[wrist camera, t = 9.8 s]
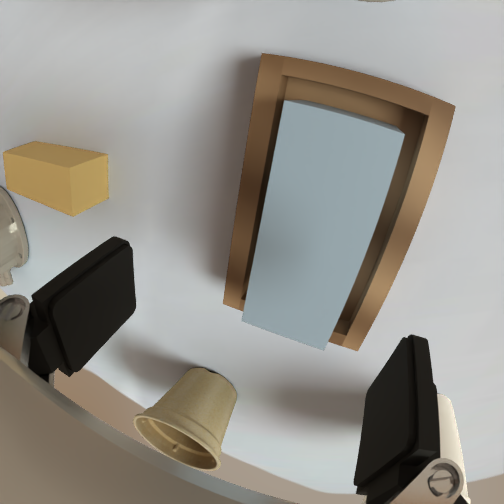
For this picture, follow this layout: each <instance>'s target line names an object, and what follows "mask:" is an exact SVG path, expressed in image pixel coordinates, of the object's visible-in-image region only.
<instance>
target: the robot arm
mask: <svg viewBox="0 0 504 504" xmlns="http://www.w3.org/2000/svg"><path fill="white" fill-rule="evenodd" d="M27 259H28V242H27V237H26V233H25V230H24V226H23V223H22V220H21V218H20V215H19V213H18V210H17V208H16V206H15V204H14V202H13V201H12V199H11V198H10V196H9V195H8V193H7V192H6V191H5V190H4V189H3V188H1V187H0V286H6V285H12V284H13V278H12V275H11V273H10V270H11V268H12V267H18V268H19V267H21V266H23V265H24V264H25V263H26V262H27ZM31 296H32V300H33V302H31V303H29V301H28V299H27V298H26V297H25V296H22V295H16V294H14V295H9V296H7V297H4V298H3V299H1V300H0V504H298V503H294V502H291V501H287V500H283V499H279V498H276V497H272V496H269V495H265V494H262V493H259V492H256V491H252V490H250V489H246V488H244V487H241V486H238V485H235V484H232V483H229V482H226V481H224V480H221V479H219V478H216V477H213V476H211V475H208V474H206V473H204V472H201V471H199V470H196V469H194V468H192V467H189V466H187V465H185V464H183V463H180V462H178V461H176V460H174V459H172V458H170V457H168V456H165V455H163V454H161V453H159V452H157V451H155V450H153V449H151V448H149V447H148V446H146V445H144V444H142V443H140V442H138V441H136V440H134V439H133V438H131V437H129V436H127V435H125V434H124V433H122V432H120V431H118V430H117V429H115V428H113V427H112V426H110V425H109V424H107V423H105V422H104V421H102V420H100V419H99V418H97V417H95V416H94V415H92V414H91V413H89V412H88V411H86V410H85V409H83V408H82V407H80V406H79V405H77V404H76V403H75V402H73V401H71V400H70V399H69V398H67V397H66V396H65V395H63V394H62V393H60V392H59V391H58V390H56V389H55V388H54V371H55V370H56V369H57V368H59V370H60V371H61V372H63V373H64V374H66V375H67V376H68V377H70V376H71V375H72V374H73V373H74V372H78V371H79V370H81V369H82V367H83V366H84V365H85V364H86V363H87V362H88V361H89V360H90V359H91V358H92V357H93V356H94V354H95V353H96V352H97V351H98V350H99V349H100V348H101V347H102V346H103V345H104V344H105V343H106V342H107V341H108V340H109V338H110V337H111V336H112V335H113V334H114V333H115V332H116V331H117V330H118V329H119V328H120V327H121V326H122V325H123V324H124V323H125V322H126V321H127V320H128V319H129V317H130V316H131V315H132V314H133V313H134V311H135V309H136V297H135V284H134V268H133V250H132V247H130V244H129V242H128V241H126V240H124V239H121V238H118V237H114V236H113V237H111V238H110V239H108V240H107V241H105V242H104V243H102V244H101V245H99V246H98V247H97V248H95V249H94V250H92V251H91V252H89V253H88V254H86V255H85V256H84V257H82V258H81V259H79V260H78V261H77V262H75V263H74V264H72V265H71V266H70V267H68V268H67V269H66V270H64V271H63V272H61V273H60V274H59V275H57V276H56V277H55V278H53V279H52V280H51V281H49V282H48V283H47V284H45V285H44V286H43V287H42V288H40V289H39V290H38V291H36V292H35V293H34V294H33V295H31ZM354 485H355V486H357V491H356V494H359V495H366V496H367V498H366V504H468V503H467V501H466V500H465V499H464V498H463V497H462V495H461V494H460V493H461V492H462V490H463V485H464V477H463V473H462V471H461V469H460V467H459V466H458V465H457V464H456V463H455V462H454V461H452V460H450V459H447V458H440V425H439V410H438V397H437V389H436V385H435V384H434V383H433V376H432V367H431V359H430V352H429V345H428V340H427V339H426V338H422V337H419V336H415V335H409V336H408V338H405V337H403V338H402V340H401V341H400V343H399V344H398V346H397V347H396V349H395V351H394V352H393V354H392V355H391V357H390V358H389V360H388V361H387V363H386V364H385V366H384V367H383V369H382V370H381V372H380V373H379V375H378V376H377V378H376V379H375V380H374V382H373V383H372V385H371V386H370V387H369V389H368V391H367V394H366V400H365V409H364V417H363V425H362V433H361V440H360V447H359V453H358V459H357V465H356V471H355V476H354Z"/></svg>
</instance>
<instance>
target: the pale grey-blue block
mask: <svg viewBox="0 0 504 504" xmlns="http://www.w3.org/2000/svg"><path fill="white" fill-rule="evenodd" d="M404 136H405V134H404V133H403V132H402V131H401V130H400V129H399V128H397V127H396V126H395V125H392V124H389V123H386V122H383V121H380V120H376V119H373V118H370V117H367V116H364V115H360V114H357V113H353V112H350V111H346V110H343V109H339V108H335V107H332V106H328V105H324V104H320V103H316V102H312V101H307V100H284V104H283V110H282V115H281V120H280V125H279V130H278V136H277V141H276V146H275V151H274V156H273V162H272V167H271V172H270V177H269V182H268V188H267V193H266V198H265V203H264V208H263V213H262V218H261V224H260V229H259V234H258V239H257V244H256V249H255V254H254V260H253V265H252V270H251V275H250V280H249V285H248V290H247V295H246V300H245V306H244V311H243V316H242V321H243V322H246V323H248V324H251V325H254V326H256V327H259V328H262V329H264V330H267V331H270V332H272V333H275V334H278V335H281V336H283V337H286V338H289V339H292V340H295V341H298V342H300V343H303V344H306V345H309V346H312V347H315V348H318V349H321V350H324V349H325V347H326V345H327V343H328V341H329V339H330V337H331V334H332V332H333V330H334V328H335V326H336V324H337V321H338V319H339V317H340V315H341V312H342V310H343V308H344V306H345V303H346V301H347V299H348V296H349V294H350V292H351V289H352V287H353V284H354V282H355V279H356V277H357V275H358V272H359V270H360V267H361V265H362V262H363V259H364V257H365V254H366V252H367V249H368V246H369V244H370V241H371V238H372V236H373V233H374V230H375V228H376V225H377V222H378V219H379V216H380V213H381V211H382V208H383V205H384V202H385V199H386V196H387V193H388V190H389V186H390V183H391V180H392V177H393V174H394V171H395V167H396V164H397V161H398V157H399V154H400V150H401V147H402V143H403V140H404Z"/></svg>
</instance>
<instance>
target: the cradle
mask: <svg viewBox="0 0 504 504" xmlns="http://www.w3.org/2000/svg"><path fill="white" fill-rule="evenodd" d="M284 100H307V101H312V102H316V103H320V104H324V105H328V106H332V107H335V108H339V109H343V110H346V111H350V112H353V113H357V114H360V115H364V116H367V117H370V118H373V119H376V120H380V121H383V122H386V123H389V124H392V125H395V126H396V127H397V128H399V129H400V130H401V131H402V132H403V133H404V134H405V136H404V140H403V143H402V147H401V150H400V154H399V157H398V161H397V164H396V167H395V171H394V174H393V177H392V180H391V183H390V186H389V190H388V193H387V196H386V199H385V202H384V205H383V208H382V211H381V213H380V216H379V219H378V222H377V225H376V228H375V230H374V233H373V236H372V238H371V241H370V244H369V246H368V249H367V252H366V254H365V257H364V259H363V262H362V265H361V267H360V270H359V272H358V275H357V277H356V279H355V282H354V284H353V287H352V289H351V292H350V294H349V296H348V299H347V301H346V303H345V306H344V308H343V310H342V312H341V315H340V317H339V319H338V321H337V324H336V326H335V328H334V330H333V332H332V334H331V337H330V339H329V341H328V342H331V343H334V344H337V345H340V346H343V347H346V348H349V349H352V350H356V351H358V350H359V348H360V346H361V344H362V342H363V341H364V339H365V337H366V335H367V333H368V331H369V330H370V328H371V326H372V324H373V322H374V320H375V318H376V316H377V314H378V312H379V310H380V308H381V306H382V304H383V302H384V300H385V298H386V296H387V294H388V292H389V290H390V288H391V286H392V284H393V282H394V280H395V278H396V275H397V273H398V271H399V269H400V267H401V264H402V262H403V260H404V257H405V255H406V253H407V251H408V248H409V246H410V243H411V241H412V239H413V236H414V234H415V231H416V229H417V226H418V224H419V221H420V219H421V216H422V213H423V211H424V208H425V205H426V203H427V200H428V197H429V194H430V191H431V189H432V186H433V183H434V180H435V177H436V174H437V171H438V168H439V164H440V161H441V158H442V155H443V151H444V148H445V145H446V141H447V138H448V134H449V130H450V127H451V123H452V119H453V115H454V111H455V107H456V106H454V105H452V104H450V103H447V102H445V101H442V100H440V99H438V98H435V97H433V96H430V95H427V94H425V93H422V92H419V91H417V90H414V89H411V88H408V87H405V86H402V85H400V84H397V83H393V82H390V81H387V80H384V79H381V78H377V77H374V76H371V75H367V74H363V73H360V72H356V71H352V70H348V69H344V68H340V67H336V66H332V65H327V64H323V63H318V62H313V61H308V60H303V59H297V58H291V57H285V56H279V55H272V54H265V53H262V55H261V61H260V66H259V72H258V78H257V84H256V89H255V95H254V101H253V107H252V113H251V119H250V125H249V131H248V137H247V144H246V150H245V156H244V162H243V169H242V175H241V182H240V188H239V195H238V201H237V208H236V215H235V221H234V228H233V235H232V242H231V249H230V256H229V263H228V270H227V277H226V284H225V292H224V299H223V304H225V305H228V306H230V307H233V308H235V309H238V310H241V311H244V306H245V300H246V295H247V290H248V285H249V280H250V275H251V270H252V265H253V260H254V254H255V249H256V244H257V239H258V234H259V229H260V224H261V218H262V213H263V208H264V203H265V198H266V193H267V188H268V182H269V177H270V172H271V167H272V162H273V156H274V151H275V146H276V141H277V136H278V130H279V125H280V120H281V115H282V110H283V104H284Z"/></svg>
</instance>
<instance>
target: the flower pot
mask: <svg viewBox="0 0 504 504" xmlns="http://www.w3.org/2000/svg"><path fill="white" fill-rule="evenodd" d="M236 399H237V393H236V390H235V389H234V387H233V386H232V385H231V383H230V382H229V381H228V380H226V379H225V378H224V377H223V376H221V375H220V374H216V373H211V372H209V371H207V370H206V369H205V368H192V369H190V370H188V371H187V372H186V373H185V374H184V376H183V377H182V378H181V379H180V380H179V381H178V382H177V383H176V384H175V385H174V386H173V387H172V388H171V389H170V390H169V391H168V392H167V393H166V394H165V395H164V396H163V397H162V398H161V399H160V400H159V401H158V402H157V403H156V404H155V405H154V406H153V407H150V408H148V409H146V411H144V413H141V414H137V415H136V416H135V417H134V419H133V423H134V426H135V428H136V429H137V431H138V432H139V434H140V435H141V436H142V437H143V438H144V439H145V440H146V441H147V442H148V443H150V444H151V445H152V446H153V447H155V448H156V449H157V450H159V451H160V452H161V453H163V454H165V455H166V456H168V457H170V458H172V459H174V460H176V461H178V462H180V463H183V464H185V465H187V466H189V467H192V468H195V469H199V470H204V471H214V470H217V469H218V468H219V467H220V465H221V461H220V459H219V457H220V454H221V444H222V441H223V438H224V435H225V432H226V429H227V426H228V423H229V420H230V417H231V414H232V411H233V408H234V405H235V403H236Z"/></svg>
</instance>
